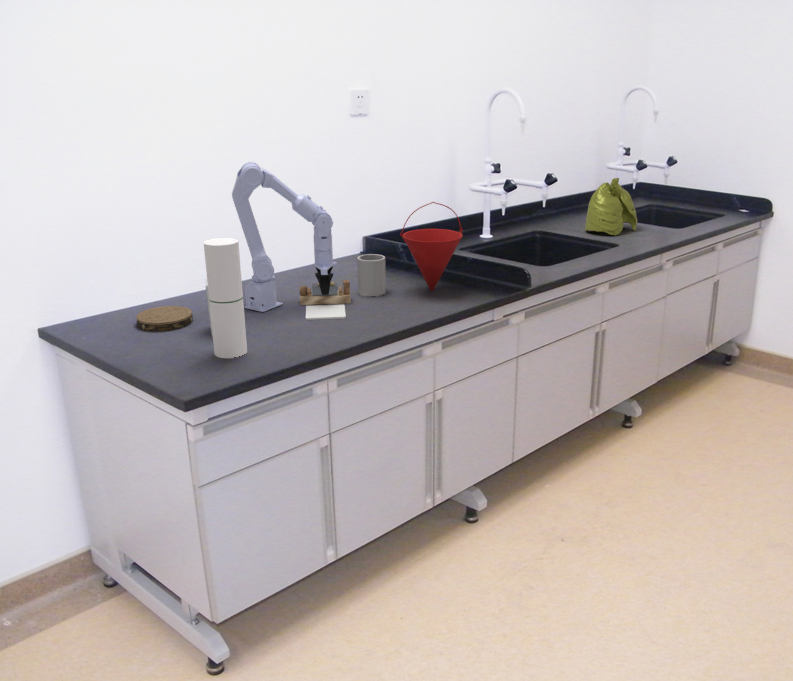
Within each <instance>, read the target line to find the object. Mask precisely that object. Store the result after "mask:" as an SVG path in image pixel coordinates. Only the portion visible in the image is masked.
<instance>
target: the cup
mask: <svg viewBox="0 0 793 681" xmlns="http://www.w3.org/2000/svg"><path fill="white" fill-rule="evenodd" d="M356 258H357V260H356V261H357V293H359V294H360V295H359V294H358V295H359V296H363V297H367V296H369V297H370V296H376V297H381V296H384V295H385V294H386V291H387V289H386V285H387V284H386V256H385V255H382V254H378V253H377V254H374V253H368V254H362V255H361V254H360V255H358V256H357V257H356ZM383 294H384V295H383ZM380 295H381V296H380Z"/></svg>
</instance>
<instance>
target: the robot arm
mask: <svg viewBox="0 0 793 681" xmlns="http://www.w3.org/2000/svg"><path fill="white" fill-rule="evenodd" d="M260 186H261V188H267V189H272V190H273V191H274V192H276V193H277V194H278V195H280V196H281V197H283V198H284V199H285V200H286V201H288V202H290V203H291V208H292V211H294V212H295V213H297V214H298V216H301V218H303V219H304V220H306V221H307V222H309V223H311V224H312V225H313V253H314V254H313V255H314V264H313V265H314V268H315V270H316V272H314V273H315V274H314V275H315V278H316V279H317V281H318V282H319V285H320V289H321V293H322V295H328V294H329V289H330V282H332V279H333V277H334V273H333V272H332V271H333V268H334V266H337V261H333V260H334V257H333V255H334V254H333V252H334V251H333V235H332V228H333V226H334V221H333V219H332V217H331V216H332V215H330V214H329V212H327V210H326V209H324V207H323V206H321V205H318V204H317V203H315V202H314V201H313V200H312V197H311V196H310V195H306V194H303V193H302V194H297V193H296V192H295V191H293V189H291V188H290V187H288V185H287V184H285V182H283V181H281V180H280V179H279V178H278V177H277V176H276V175H275V174H273V173H272V172H270V171H268V170H267V169H265V168H264V167H260V165H259V164H258V163H257V162H252V161H248V162H246V163H244V164H243V165H242V166H241V167H240V169H238V172H237V174H236V178H235V183H234V186H233V188H232V191H231V198H232V201H233V205H234V207H235V210H236V212H237V217H238V219H239V221H240V225H241V229H242V231H243V235H244V238H245V240H246V244H247V246H248V250H249V253H250V257H251V268H252V271H253V272H252V273H253V275H252V276H251V281H250V282H249V283H247V284H246V285H245V287H244V293H245V294H244V295H245V306H244V309H247V310H252V311H257V312H261V313H262V312H266V311H270V310H271V309H274V308H275V309H276V308H277V307H280V306H282V305H284V304H283V302H280V301H277V300H278V299H277V286H276V276H275V275H274V274H275V268H274V265H273V263H272V259H271V258H270V257H269V255H267V253H266V250H265V247H264V244H263V242H262V238H261V235H260V234H261V233H260V231H259V228H258V225H257V222H256V218H255V216H254V212H253V209H252V206H251V203H250V200H249V198H250V197H251V195H252V194H253V192H254V191H255V190H256V189H257V188H259V187H260Z"/></svg>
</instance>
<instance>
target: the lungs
mask: <svg viewBox="0 0 793 681" xmlns="http://www.w3.org/2000/svg"><path fill="white" fill-rule="evenodd" d="M619 182H620V178H619V177H614V178H612V180H611V182H603V183H601V184H600V185H599V186H598V187H597V188H596V190H595V191H594V192H593V194H592V195H591V197H590V200H589V203H588V208H587V213H586V219H585V226H584V228H585V230H584V231H585V232H588V231H592V232H597V233H598V232H602V233H607V234H608V235H611V236H618V235H620V234H621V232H623V229H624V224H625V223H626V224H629V225H631V228H632V230H633V231H634V232H636V231H637V224H638V218H637V211H636V208H635V205H634V202H633V199H632V196H631V195H630V192H628V191H627V190H626V189H624V188H623V187H622V186H621V184H620V183H619Z"/></svg>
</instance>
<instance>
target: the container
mask: <svg viewBox="0 0 793 681" xmlns="http://www.w3.org/2000/svg"><path fill="white" fill-rule="evenodd" d="M203 249H204V250H203V251H204V261H205V270H206V279H207V283H208V293H209V303H210V314H211V324H212V334H213V335H212V340H213V341H212V344H213V352H214V356H215V357H217V358H221V359H235V358H234V357H236V358H239V356H240V357H242V355H243V356H245V355H246V354H247V353H248V346H247V345H248V344H247V331H246V320H245V308H244V307H245V306H244V296H243V295H244V293H243V283H242V270H241V259H240V258H241V256H240V245H239V240H238V239H236V238H232V237H217V238H210V239H207V240H204V241H203ZM244 354H245V355H244Z"/></svg>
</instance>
